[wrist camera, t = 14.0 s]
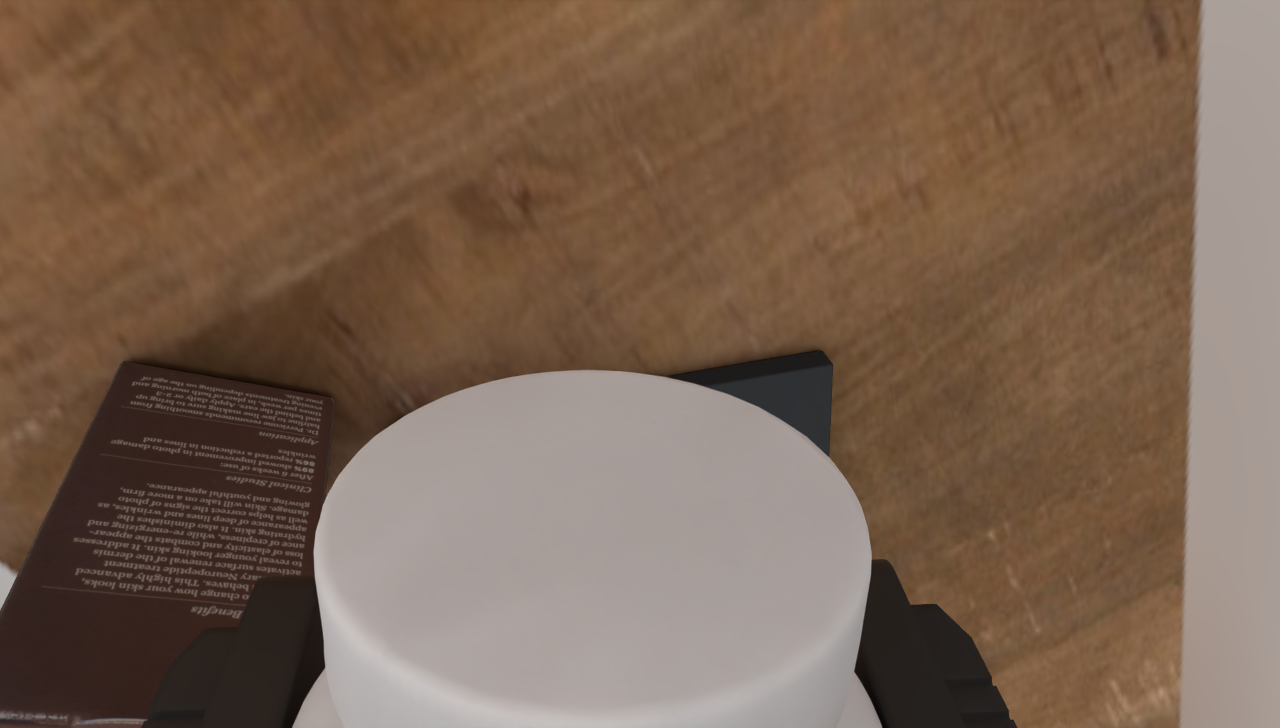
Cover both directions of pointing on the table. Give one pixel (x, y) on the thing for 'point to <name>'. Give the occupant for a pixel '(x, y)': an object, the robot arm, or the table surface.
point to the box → (158, 540)
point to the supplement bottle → (590, 565)
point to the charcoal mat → (780, 390)
